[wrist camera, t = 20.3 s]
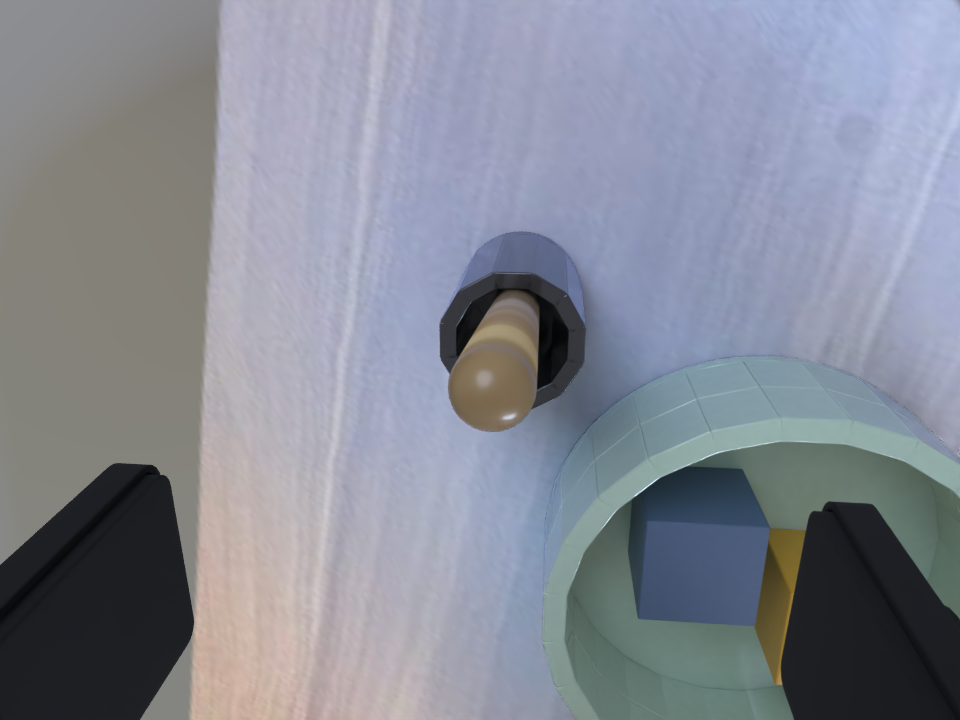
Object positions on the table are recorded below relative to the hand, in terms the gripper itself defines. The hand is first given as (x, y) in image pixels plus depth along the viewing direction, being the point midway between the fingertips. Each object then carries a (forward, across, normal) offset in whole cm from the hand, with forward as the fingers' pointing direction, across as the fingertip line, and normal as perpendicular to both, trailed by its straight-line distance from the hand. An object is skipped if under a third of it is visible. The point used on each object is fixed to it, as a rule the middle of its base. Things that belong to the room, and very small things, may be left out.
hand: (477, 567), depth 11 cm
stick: (+17, 0, +1) cm, 17 cm away
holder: (+17, 0, +1) cm, 17 cm away
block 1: (+16, -6, +9) cm, 20 cm away
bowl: (+17, -9, +11) cm, 22 cm away
